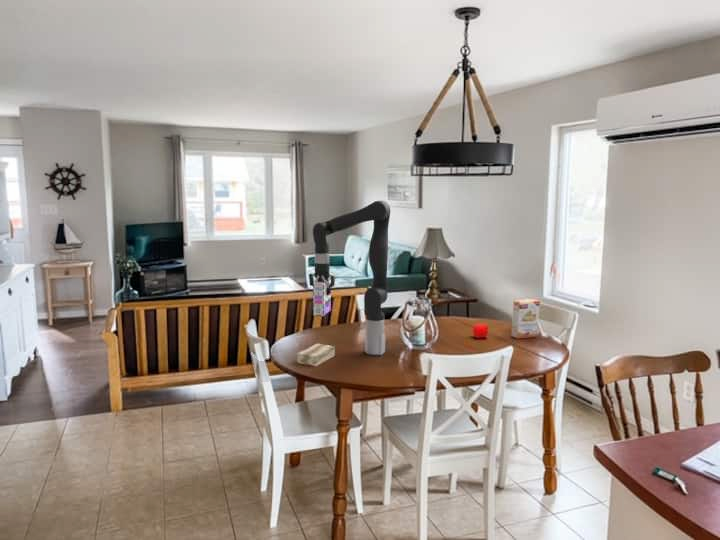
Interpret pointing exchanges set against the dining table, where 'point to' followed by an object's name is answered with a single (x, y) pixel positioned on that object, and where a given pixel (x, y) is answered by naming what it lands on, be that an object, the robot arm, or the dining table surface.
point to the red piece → (480, 331)
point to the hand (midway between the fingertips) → (322, 294)
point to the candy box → (321, 299)
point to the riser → (315, 354)
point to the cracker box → (525, 318)
